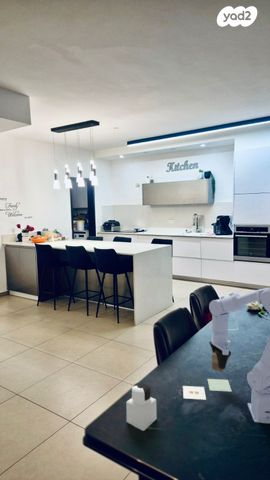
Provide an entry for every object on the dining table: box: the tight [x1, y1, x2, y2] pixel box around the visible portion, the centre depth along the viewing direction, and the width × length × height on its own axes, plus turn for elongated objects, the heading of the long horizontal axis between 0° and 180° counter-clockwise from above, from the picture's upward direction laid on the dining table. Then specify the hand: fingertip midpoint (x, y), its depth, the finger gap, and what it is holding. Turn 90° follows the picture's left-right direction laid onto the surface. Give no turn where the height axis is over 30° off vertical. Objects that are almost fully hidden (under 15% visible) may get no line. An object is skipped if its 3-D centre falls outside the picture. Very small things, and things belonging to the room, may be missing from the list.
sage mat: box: [207, 378, 233, 392], centre depth 121 cm, size 8×8×1 cm
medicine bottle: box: [125, 382, 157, 432], centre depth 101 cm, size 7×7×12 cm
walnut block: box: [211, 351, 225, 373], centre depth 120 cm, size 4×4×6 cm
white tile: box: [182, 385, 207, 401], centre depth 117 cm, size 8×8×1 cm
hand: (219, 364), depth 120 cm, fingers closed on walnut block, 6 cm apart
